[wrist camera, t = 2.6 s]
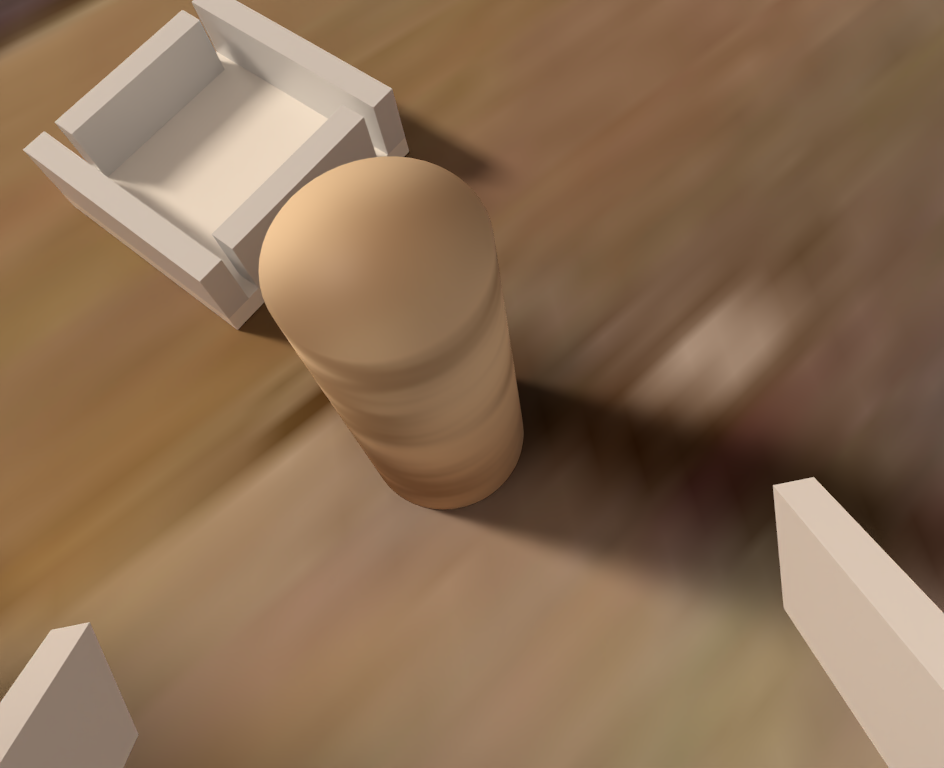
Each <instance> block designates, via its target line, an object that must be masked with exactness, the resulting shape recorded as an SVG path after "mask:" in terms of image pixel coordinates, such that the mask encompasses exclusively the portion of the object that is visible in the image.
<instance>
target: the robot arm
mask: <svg viewBox="0 0 944 768" xmlns="http://www.w3.org/2000/svg"><path fill="white" fill-rule="evenodd" d="M773 493H774V504H775V515H776V527H777V538H778V549H779V561H780V572H781V583H782V595H783V606H784V609H785V611H786V612H787V614H788V615H789V617H790V619H791V620H792V622H793V623H794V625H795V626H796V628H797V629H798V631H799V632H800V634H801V635H802V637H803V638H804V640H805V641H806V643H807V644H808V646H809V647H810V649H811V650H812V652H813V653H814V655H815V656H816V658H817V659H818V661H819V663H820V664H821V666H822V667H823V669H824V670H825V672H826V673H827V675H828V676H829V678H830V679H831V681H832V682H833V684H834V685H835V687H836V688H837V690H838V691H839V693H840V694H841V696H842V697H843V699H844V700H845V702H846V703H847V705H848V707H849V708H850V710H851V711H852V713H853V714H854V716H855V717H856V719H857V720H858V722H859V723H860V725H861V726H862V728H863V729H864V731H865V732H866V734H867V735H868V737H869V738H870V740H871V741H872V743H873V744H874V746H875V747H876V749H877V751H878V752H879V754H880V755H881V757H882V758H883V760H884V761H885V763H886V764H887V766H888V767H889V768H944V612H942V611H941V610H940V609H939V608H938V607H937V606H936V605H935V604H934V603H933V602H932V601H931V600H930V599H929V597H928V596H927V595H926V594H925V593H924V592H923V591H922V590H921V589H920V588H919V587H918V586H917V585H916V584H915V583H914V582H913V581H912V580H911V579H910V578H909V576H908V575H907V574H906V573H905V572H904V571H903V570H902V569H901V568H900V567H899V566H898V565H897V564H896V563H895V562H894V561H893V560H892V559H891V558H890V557H889V555H888V554H887V553H886V552H885V551H884V550H883V549H882V548H881V547H880V546H879V545H878V544H877V543H876V542H875V541H874V540H873V539H872V538H871V537H870V536H869V534H868V533H867V532H866V531H865V530H864V529H863V528H862V527H861V526H860V525H859V524H858V523H857V522H856V521H855V520H854V519H853V518H852V517H851V516H850V515H849V513H848V512H847V511H846V510H845V509H844V508H843V507H842V506H841V505H840V504H839V503H838V502H837V501H836V500H835V499H834V498H833V497H832V496H831V495H830V494H829V492H828V491H827V490H826V489H825V488H824V487H823V486H822V485H821V484H820V483H819V482H818V481H817V480H816V479H815V478H814V477H812V478H807V479H802V480H797V481H792V482H787V483H782V484H777V485H773ZM138 735H139V734H138V732H137V730H136V727H135V725H134V723H133V721H132V718H131V716H130V714H129V711H128V709H127V707H126V704H125V702H124V700H123V698H122V695H121V693H120V691H119V688H118V686H117V684H116V681H115V679H114V677H113V675H112V672H111V670H110V668H109V665H108V663H107V661H106V658H105V656H104V654H103V652H102V649H101V647H100V645H99V642H98V640H97V638H96V635H95V633H94V631H93V629H92V626H91V624H90V622H88V623H83V624H78V625H73V626H68V627H63V628H58V629H53V630H51V631H50V632H49V633H48V635H47V636H46V638H45V639H44V641H43V642H42V644H41V645H40V646H39V648H38V649H37V651H36V652H35V654H34V655H33V656H32V658H31V659H30V661H29V662H28V664H27V665H26V666H25V668H24V669H23V671H22V672H21V674H20V675H19V676H18V678H17V679H16V681H15V682H14V684H13V685H12V686H11V688H10V689H9V691H8V692H7V694H6V695H5V696H4V698H3V699H2V701H1V702H0V768H124V765H125V763H126V761H127V759H128V757H129V754H130V752H131V750H132V748H133V746H134V743H135V741H136V739H137V737H138Z"/></svg>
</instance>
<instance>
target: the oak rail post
mask: <svg viewBox="0 0 944 768" xmlns="http://www.w3.org/2000/svg"><path fill="white" fill-rule="evenodd" d="M259 284H260V288H261V292H262V297H263V299H264V302H265V304H266V306H267V309H268V310H269V312H270V314H271V315H272V317H273V319H274V320H275V322H276V323H277V325H278V326H279V328H280V329H281V330H282V332H283V333H284V335H285V336H286V338H287V339H288V341H289V342H290V344H291V345H292V347H293V348H294V349H295V351H296V352H297V354H298V355H299V357H300V358H301V360H302V361H303V363H304V364H305V366H306V367H307V368H308V370H309V371H310V373H311V374H312V376H313V377H314V379H315V380H316V382H317V383H318V385H319V386H320V387H321V389H322V390H323V392H324V393H325V395H326V396H327V398H328V399H329V401H330V402H331V403H332V405H333V406H334V408H335V409H336V411H337V412H338V414H339V415H340V417H341V418H342V420H343V421H344V422H345V424H346V425H347V427H348V428H349V430H350V431H351V433H352V434H353V436H354V437H355V439H356V440H357V441H358V443H359V444H360V446H361V447H362V449H363V450H364V452H365V453H366V455H367V456H368V458H369V459H370V460H371V462H372V463H373V465H374V466H375V468H376V469H377V471H378V472H379V474H380V475H381V476H382V478H383V479H384V481H385V482H386V483H387V484H388V486H389V487H390V488H391V489H392V490H393V491H395V492H396V493H397V494H398V495H399V496H401V497H402V498H404V499H405V500H407V501H409V502H411V503H413V504H416V505H419V506H422V507H426V508H431V509H443V510H445V509H456V508H461V507H466V506H468V505H471V504H474V503H477V502H479V501H481V500H483V499H485V498H486V497H488V496H489V495H491V494H492V493H494V492H495V491H496V490H497V489H498V488H499V487H501V485H502V484H503V483H504V482H505V481H506V480H507V479H508V477H509V476H510V475H511V473H512V472H513V470H514V468H515V466H516V464H517V462H518V460H519V457H520V454H521V450H522V446H523V436H524V431H523V421H522V414H521V408H520V401H519V395H518V388H517V382H516V376H515V369H514V363H513V356H512V350H511V343H510V337H509V330H508V324H507V317H506V311H505V304H504V298H503V291H502V285H501V278H500V272H499V265H498V259H497V252H496V246H495V239H494V233H493V229H492V224H491V221H490V218H489V216H488V213H487V210H486V208H485V207H484V205H483V203H482V202H481V200H480V198H479V197H478V196H477V195H476V193H475V192H474V191H473V190H472V188H470V187H469V186H468V185H467V184H466V183H465V182H464V181H463V180H462V179H460V178H459V177H457V176H456V175H454V174H453V173H452V172H450V171H448V170H446V169H444V168H442V167H440V166H438V165H435V164H432V163H429V162H427V161H423V160H418V159H414V158H407V157H398V156H383V157H374V158H367V159H362V160H357V161H353V162H350V163H347V164H344V165H341V166H338V167H336V168H334V169H332V170H329V171H327V172H325V173H323V174H322V175H320V176H318V177H316V178H315V179H313V180H312V181H310V182H309V183H308V184H306V185H305V186H303V187H302V188H301V189H300V190H299V191H298V192H296V193H295V194H294V195H293V196H292V197H291V198H290V199H289V200H288V201H287V202H286V204H285V205H284V206H283V207H282V208H281V210H280V211H279V212H278V214H277V215H276V217H275V218H274V220H273V222H272V223H271V225H270V227H269V229H268V231H267V233H266V236H265V239H264V241H263V244H262V248H261V253H260V257H259Z"/></svg>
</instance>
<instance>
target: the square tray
mask: <svg viewBox="0 0 944 768" xmlns="http://www.w3.org/2000/svg"><path fill="white" fill-rule="evenodd" d="M192 4H193V6H194V8H195V10H196V12H197V14H198V16H199V18H200V20H201V22H202V23H203V25H204V27H205V29H206V31H207V33H208V35H209V37H210V39H211V41H212V43H213V45H214V47H215V49H216V51H217V52H216V51H215V49H214V48H213V46H212V44H211V42H210V40H209V38H208V36H207V34H206V32H205V30H204V28H203V26H202V24H201V22H200V20H198V19H197V18H195V17H193V16H192V15H190V14H188V13H187V12H185V11H183V10H182V11H180V12H179V13H178V14H177V15H176V16H175V17H174V18H172V19H171V20H170V21H169V22H168V23H167V24H166V25H164V26H163V27H162V28H161V29H160V30H159V31H158V32H157V33H155V34H154V35H153V36H152V37H151V38H150V39H149V40H147V41H146V42H145V43H144V44H143V45H142V46H141V47H139V48H138V49H137V50H136V51H135V52H134V53H133V54H131V55H130V56H129V57H128V58H127V59H126V60H125V61H124V62H122V63H121V64H120V65H119V66H118V67H117V68H116V69H114V70H113V71H112V72H111V73H110V74H109V75H108V76H106V77H105V78H104V79H103V80H102V81H101V82H100V83H98V84H97V85H96V86H95V87H94V88H93V89H92V90H90V91H89V92H88V93H87V94H86V95H85V96H84V97H83V98H81V99H80V100H79V101H78V102H77V103H76V104H75V105H73V106H72V107H71V108H70V109H69V110H68V111H67V112H65V113H64V114H63V115H62V116H61V117H60V118H59V119H57V120H56V121H55V123H56V125H57V126H58V127H59V128H60V129H61V131H62V132H63V133H64V134H65V136H66V137H67V138H68V139H69V140H70V142H71V143H72V144H73V145H74V147H75V148H76V149H77V150H78V151H79V153H80V154H81V155H82V156H83V158H84V159H85V160H86V161H87V162H88V163H87V162H86V161H84V160H83V159H82V158H80V157H79V156H78V155H76V154H75V153H73V152H72V151H71V150H69V149H68V148H67V147H65V146H64V145H62V144H61V143H60V142H58V141H57V140H56V139H54V138H53V137H51V136H50V135H49V134H47V133H46V132H43V133H42V134H40V135H39V136H38V137H37V138H36V139H35V140H34V141H32V142H31V143H30V144H29V145H28V146H27V147H26V148H24V149H23V150H24V151H25V152H26V154H27V155H28V156H29V157H30V158H31V159H32V160H33V161H34V162H35V164H36V165H37V166H38V167H39V168H40V169H41V170H42V171H43V172H44V173H45V175H46V176H47V177H48V178H49V179H50V180H51V181H52V182H53V183H54V184H55V186H56V187H57V188H58V189H59V190H60V191H61V192H62V193H63V194H64V196H65V197H66V198H67V199H68V200H69V201H70V202H71V203H72V204H73V205H74V206H75V207H76V208H77V209H79V210H80V211H81V212H83V213H84V214H85V215H87V216H88V217H89V218H91V219H92V220H93V221H95V222H96V223H97V224H99V225H100V226H101V227H102V228H104V229H105V230H106V231H108V232H109V233H110V234H112V235H113V236H114V237H116V238H117V239H118V240H120V241H121V242H122V243H124V244H125V245H126V246H128V247H129V248H130V249H131V250H133V251H134V252H135V253H137V254H138V255H139V256H141V257H142V258H143V259H145V260H146V261H147V262H149V263H150V264H151V265H153V266H154V267H155V268H156V269H158V270H159V271H160V272H162V273H163V274H164V275H166V276H167V277H168V278H170V279H171V280H172V281H174V282H175V283H176V284H178V285H179V286H180V287H182V288H183V289H184V290H185V291H187V292H188V293H189V294H191V295H192V296H193V297H195V298H196V299H197V300H199V301H200V302H201V303H203V304H204V305H205V306H207V307H208V308H209V309H210V310H212V311H213V312H214V313H216V314H217V315H218V316H220V317H221V318H222V319H224V320H225V321H226V322H228V323H229V324H230V325H232V326H233V327H234V328H235V329H237V330H238V329H239V328H240V327H241V326H242V325H243V324H244V323H245V322H246V321H247V320H248V319H249V318H250V317H251V316H252V315H253V314H254V312H255V311H256V310H257V309H258V308H259V307H260V306H261V305H262V304H263V303H264V299H263V297H262V292H261V288H260V284H259V257H260V253H261V248H262V244H263V241H264V239H265V236H266V233H267V231H268V229H269V227H270V225H271V223H272V222H273V220H274V218H275V217H276V215H277V214H278V212H279V211H280V210H281V208H282V207H283V206H284V205H285V204H286V202H287V201H288V200H289V199H290V198H291V197H292V196H293V195H294V194H295V193H296V192H298V191H299V190H300V189H301V188H302V187H303V186H305V185H306V184H308V183H309V182H310V181H312V180H313V179H315V178H316V177H318V176H320V175H322V174H323V173H325V172H327V171H329V170H332V169H334V168H336V167H338V166H341V165H344V164H347V163H350V162H353V161H357V160H362V159H367V158H374V157H383V156H398V157H405V155H406V154H407V153H408V152H409V149H408V145H407V142H406V138H405V134H404V131H403V127H402V123H401V120H400V116H399V112H398V109H397V105H396V101H395V98H394V94H393V90H392V88H390V87H388V86H386V85H385V84H383V83H381V82H379V81H377V80H376V79H374V78H372V77H370V76H369V75H367V74H365V73H363V72H362V71H360V70H358V69H356V68H355V67H353V66H351V65H349V64H347V63H346V62H344V61H342V60H340V59H339V58H337V57H335V56H333V55H332V54H330V53H328V52H326V51H324V50H323V49H321V48H319V47H317V46H316V45H314V44H312V43H310V42H309V41H307V40H305V39H303V38H301V37H300V36H298V35H296V34H294V33H293V32H291V31H289V30H287V29H286V28H284V27H282V26H280V25H279V24H277V23H275V22H273V21H271V20H270V19H268V18H266V17H264V16H263V15H261V14H259V13H257V12H256V11H254V10H252V9H250V8H248V7H247V6H245V5H243V4H241V3H240V2H238V1H236V0H193V1H192Z"/></svg>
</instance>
